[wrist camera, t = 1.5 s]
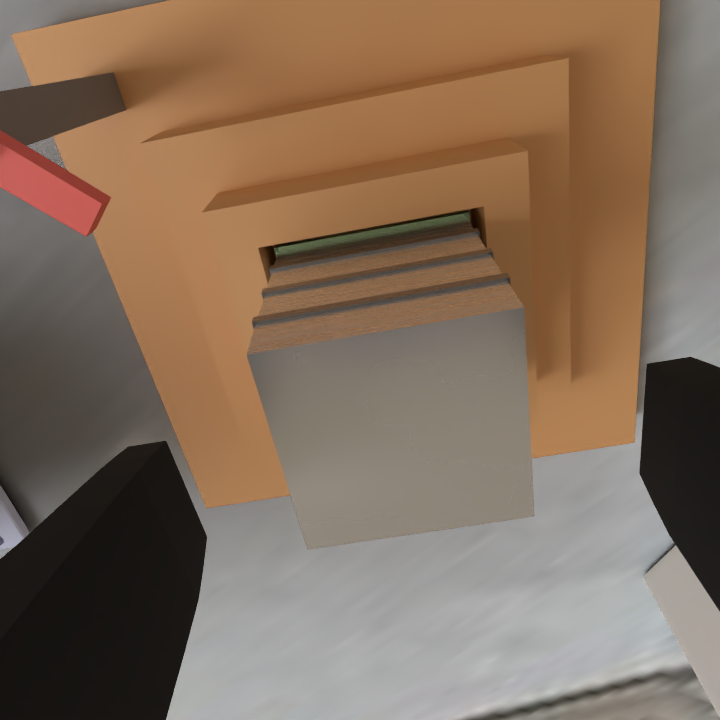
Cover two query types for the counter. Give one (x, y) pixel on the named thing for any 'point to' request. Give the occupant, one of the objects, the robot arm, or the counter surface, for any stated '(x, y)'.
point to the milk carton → (689, 618)
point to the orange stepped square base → (348, 181)
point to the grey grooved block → (395, 381)
